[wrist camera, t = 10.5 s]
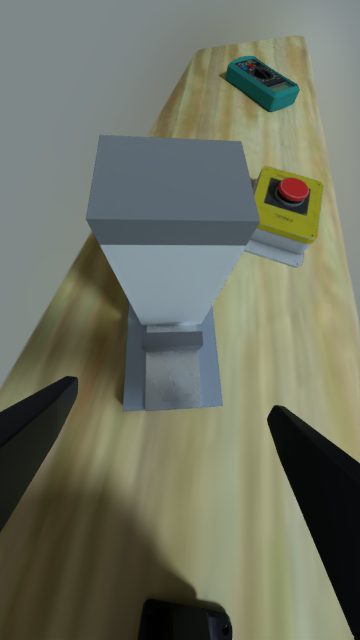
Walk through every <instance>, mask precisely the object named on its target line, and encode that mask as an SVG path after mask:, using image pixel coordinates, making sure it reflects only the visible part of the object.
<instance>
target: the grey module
mask: <svg viewBox="0 0 360 640" xmlns="http://www.w3.org/2000/svg"><path fill="white" fill-rule="evenodd" d="M86 220H87V222H88V224H89V226H90V228H91V230H92V231H93V233H94V235H95V237H96V239H97V241H98V243H99V245H100V247H101V248H102V250H103V252H104V254H105V256H106V258H107V260H108V262H109V264H110V266H111V267H112V269H113V271H114V273H115V275H116V277H117V279H118V281H119V283H120V285H121V286H122V288H123V290H124V292H125V294H126V296H127V298H128V300H129V302H130V304H131V305H132V307H133V309H134V311H135V313H136V315H137V317H138V319H139V321H140V323H141V324H142V326H147V325H189V324H202V322H203V320H204V318H205V317H206V315H207V313H208V311H209V310H210V308H211V306H212V304H213V303H214V301H215V299H216V298H217V296H218V294H219V292H220V291H221V289H222V287H223V285H224V284H225V282H226V280H227V278H228V277H229V275H230V273H231V271H232V270H233V268H234V266H235V265H236V263H237V261H238V259H239V258H240V256H241V254H242V252H243V251H244V249H245V247H246V245H247V244H248V242H249V240H250V238H251V237H252V235H253V233H254V231H255V230H256V228H257V226H258V225H259V223H260V218H259V214H258V210H257V205H256V201H255V197H254V193H253V189H252V184H251V180H250V176H249V172H248V168H247V163H246V159H245V155H244V151H243V147H242V142H241V141H221V140H198V139H175V138H153V137H130V136H107V135H106V136H105V135H100V136H99V142H98V148H97V154H96V161H95V167H94V173H93V179H92V185H91V191H90V197H89V203H88V209H87V215H86Z"/></svg>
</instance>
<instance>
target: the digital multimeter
mask: <svg viewBox="0 0 360 640" xmlns="http://www.w3.org/2000/svg"><path fill="white" fill-rule="evenodd" d="M226 80H227V81H228V82H230V83H231V84H233V85H234V86H235V87H237V88H238V89H240V90H241V91H242V92H244V93H245V94H247V95H248V96H249V97H251V98H252V99H253V100H255V101H256V102H257V103H258V104H260V105H261V106H262V107H263V108H265V109H266V110H267V111H269V112H272V111H276V110H279V109H282V108H285V107H287V106H289V105H291V104H293V103H294V101H295V99H296V97H297V95H298V93H299V90H300V89H299V87H298V85H297V84H296V83H294V82H292V81H291V80H289V79H287V78H286V77H284V76H282V75H281V74H279V73H278V72H276V71H274V70H273V69H271V68H270V67H268V66H267V65H265V64H264V63H263V62H261V61H260V60H258V59H257V58H255V57H254V56H244V57H240V58H238V59H236V60H234V61H232V62H231V63H230V64H229V65H228V68H227V74H226Z"/></svg>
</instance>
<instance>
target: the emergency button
mask: <svg viewBox="0 0 360 640" xmlns="http://www.w3.org/2000/svg"><path fill="white" fill-rule="evenodd" d="M252 189H253V193H254V197H255V201H256V205H257V210H258V214H259V218H260V223H259V225H258V226H257V228H256V230H255V231H254V233H253V235H252V237H251V238H250V240H249V242H248V244H247V245H246V247H245V249H244V251H245V252H248V253H252V254H255V255H258V256H261V257H264V258H267V259H270V260H273V261H276V262H279V263H283V264H286V265H289V266H292V267H299V266H301V265H302V263H303V257H304V252H305V250H306V249H307V248H308V247H309V246H310V245H311V244H312V243H313V242H314V240H315V239H316V238H317V236H318V227H319V219H320V210H321V202H322V193H323V184H322V183H321V182H319V181H317V180H313V179H310V178H307V177H303V176H300V175H296V174H293V173H290V172H286V171H283V170H279V169H276V168H273V167H269V166H265V167H263V169H262V170H261V172H260V175H259V177H258V178H257V179H256V180H255V182H254V185H253V188H252Z"/></svg>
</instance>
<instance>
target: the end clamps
mask: <svg viewBox="0 0 360 640" xmlns="http://www.w3.org/2000/svg"><path fill="white" fill-rule="evenodd" d="M202 346H203V334H202V331H190V332H149V333H142V348H143V349H144V351H145V352H146V353H147V352H178V351H198V350H199V349H200V348H201V347H202Z"/></svg>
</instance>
